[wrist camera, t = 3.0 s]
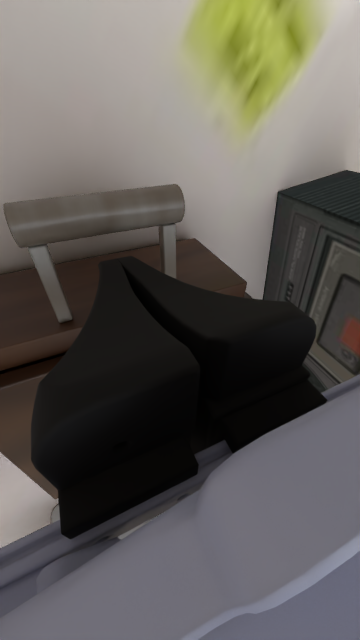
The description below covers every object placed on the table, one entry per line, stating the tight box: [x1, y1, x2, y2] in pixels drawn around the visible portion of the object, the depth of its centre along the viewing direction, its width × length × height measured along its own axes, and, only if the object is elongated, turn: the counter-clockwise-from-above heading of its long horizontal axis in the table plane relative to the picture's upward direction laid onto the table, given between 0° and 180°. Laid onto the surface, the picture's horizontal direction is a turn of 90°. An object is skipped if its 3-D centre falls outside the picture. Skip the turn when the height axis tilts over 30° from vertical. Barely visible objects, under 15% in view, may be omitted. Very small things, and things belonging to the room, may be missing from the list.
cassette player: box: [263, 170, 360, 393], centre depth 24 cm, size 29×7×20 cm, turn 8°
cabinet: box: [0, 292, 253, 499], centre depth 19 cm, size 13×15×8 cm
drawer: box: [0, 184, 247, 373], centre depth 16 cm, size 16×13×6 cm
